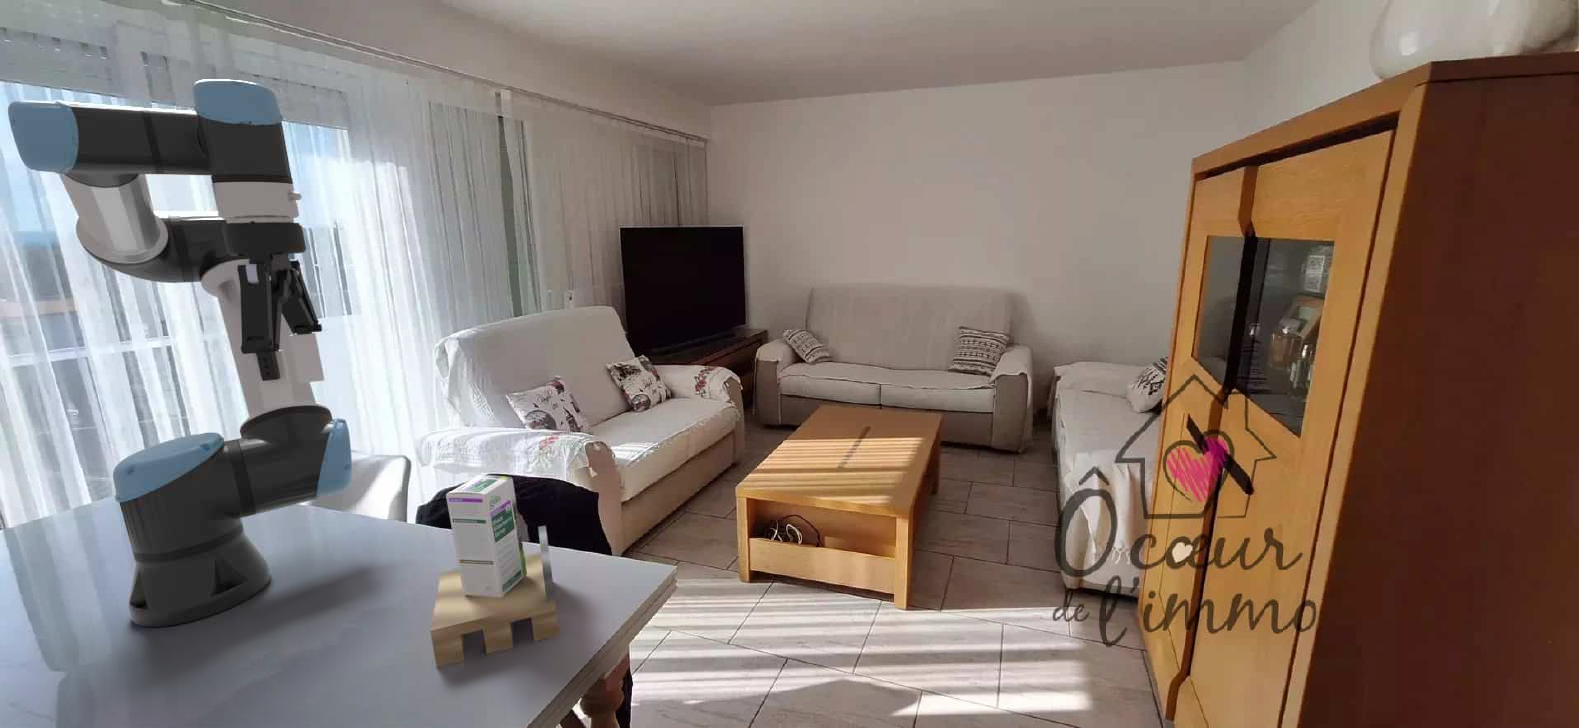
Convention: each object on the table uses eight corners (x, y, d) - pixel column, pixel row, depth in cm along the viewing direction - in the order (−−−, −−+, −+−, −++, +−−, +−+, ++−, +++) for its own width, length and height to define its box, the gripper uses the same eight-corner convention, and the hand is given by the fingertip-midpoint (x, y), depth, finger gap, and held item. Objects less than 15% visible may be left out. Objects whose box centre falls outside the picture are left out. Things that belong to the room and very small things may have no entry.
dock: (446, 605, 89) (436, 547, 87) (552, 581, 94) (545, 525, 92) (436, 667, 76) (424, 600, 74) (559, 635, 82) (551, 571, 80)
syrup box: (502, 599, 81) (486, 493, 78) (461, 596, 82) (444, 491, 79) (528, 575, 87) (514, 475, 83) (489, 572, 88) (474, 474, 85)
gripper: (264, 218, 66) (304, 413, 71) (325, 221, 89) (353, 370, 93) (172, 220, 63) (219, 423, 68) (259, 223, 86) (291, 376, 90)
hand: (297, 393), depth 81 cm, fingers open, 13 cm apart
